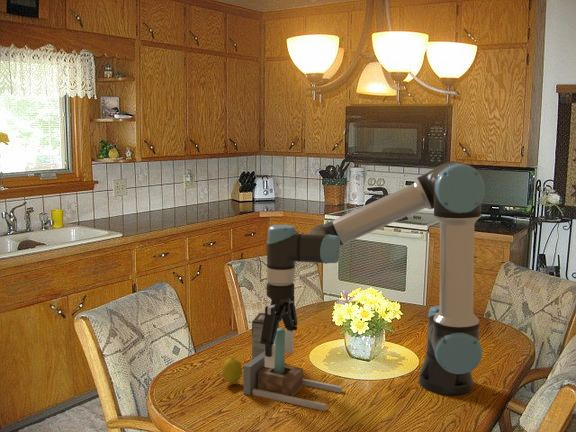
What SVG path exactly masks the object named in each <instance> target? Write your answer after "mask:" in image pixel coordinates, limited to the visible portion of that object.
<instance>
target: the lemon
mask: <svg viewBox="0 0 576 432" xmlns="http://www.w3.org/2000/svg"><path fill="white" fill-rule="evenodd" d="M221 372H222V376H223V379H224V380H225V381H226V382H227V383H229V384H230V385H234V384H235V383H237V382H238V381H239V380H240V379H241V377H242V373H243V368H242V364H241V362H240V361H239V360H238V359H237V358H234V356H233V357H230V358H228V359H227V360H225V362H224V363H223V366H222V371H221Z"/></svg>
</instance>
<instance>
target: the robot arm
mask: <svg viewBox="0 0 576 432" xmlns="http://www.w3.org/2000/svg"><path fill="white" fill-rule="evenodd" d="M485 187H486V186H485V181H484V179H483V177H482V175H481V174H480V172H479V171H478V170H477V169H476V168H474V167H473V166H471V165H469V164H467V163H464V162H463V163H462V162H460V161H454V160H453V161H447V162H444V163H442V164H440V165H438V166H436V167H435V168H433V169H431V170H430V171H428V172H426V173H424V174H422V175H421V176H418V177H416V178H415V180H414V182H413V183H411V184H410V185H407V186H405V187H403V188H401V189H397V190H396V191H393V192H391V193H390V194H388V195H385V196H383V197H381V198H378V199H376V200H374V201H372V202H370V203H368V204H366V205H364V206H361V207H359V208H357V209H355V210H352V211H350V212H348V213H346V214H344V215H341V216H340V217H338V218H335V219H333V220H330V221H329V222H326V223H324V224H319V225H316V226H315V227H313V228H312V229H311V230H310V232H309V233H298V232H297V231H296V227H295V226H294V225H289V224H273V225H271V226H270V227H269V228H268V229H267V242H266V269H265V271H266V281H267V283H266V297H267V298H269V299H271V301H270V306H269V305H266V306H265V307H264V313H265V317H264V323H263V329H262V335H261V341H260V343H261V344H265V367H268V368H273V369H274V368H275V344H273V343H274V340H275V336H276V332H277V328H278V325H279V324H280V322H283V325H284V328H285V353H286V354H291V355H293V354H294V337H295V336H294V335H295V333H294V331H297V330H298V318H297V312H296V305H295V284H294V282H295V279H296V278H295V277H296V276H295V275H296V269H295V268H296V262H297V263H314V264H315V263H316V264H325V265H327V264H337V263H339V262H340V256H341V246H343V245H345V244H347V243H349V242H353V241H354V240H357V239H358V238H361V237H364V236H365V235H368V234H370V233H372V232H375V231H377V230H378V229H381V228H383V227H385V226H388V225H390V224H392V223H394V222H398V220H399V221H400V220H401V219H403V218H406V217H408V216H411V215H413V214H415V213H417V212H419V211H422V210H424V209H428V210H433V217H434V218H435V219H436V220H437V221H438V222H439V298H438V299H439V305H433V306H432V307H430V308H429V310H428V315H427V318H428V322H427V336H426V337H427V339H426V340H427V341H426V355H425V356H426V357H425V359H424V362H423V364H422V366H421V368H420V371H419V373H418V374H419V375H418V382H419V384H420V386H421V387H422V388H424V389H425V390H427V391H430V392H432V393H436V394H441V395H445V396H446V395H447V396H458V395H465V394H468V393H470V392H471V391H472V390H473V389H474V388H473V387H474V378H473V375H472V371H474V370H475V369H476V368H477V367H478V366H479V365H480V363H481V361H482V358H483V348H482V344H481V342H480V319H479V318H478V317H477V316H476V314H475V313H474V291H475V289H474V286H475V285H474V284H475V283H474V282H475V281H474V280H475V279H474V278H475V224H476V222H477V221H478V220H479V219H481V217H482V201H483V199H484V196H485V193H486V192H485V191H486V188H485Z"/></svg>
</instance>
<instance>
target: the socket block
mask: <svg viewBox="0 0 576 432" xmlns="http://www.w3.org/2000/svg"><path fill="white" fill-rule="evenodd" d="M303 379H304V368H301V367H296V366H291V365H286V364H284V375H282V374H277V373H273V368H268V367H264V368H263V369H261V370H260V371H259V372H258V389H260V390H264V391H269V392H273V393H278V394H283V395H287V396H292V397H295V395H296V394H297V393H299V392H300V390H301V389H302V388H303V387H304V385H303Z"/></svg>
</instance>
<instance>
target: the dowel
mask: <svg viewBox="0 0 576 432" xmlns="http://www.w3.org/2000/svg"><path fill="white" fill-rule="evenodd" d="M285 330H286V328H285V329H284V328H283V327H282V328H281V327H279V328H277V332H276V336H275V340H274V344H275V368H274V369H273V373H277V374H282V375H284V365H285V359H286V358H285V357H286V356H285V355H286V354H285Z"/></svg>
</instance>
